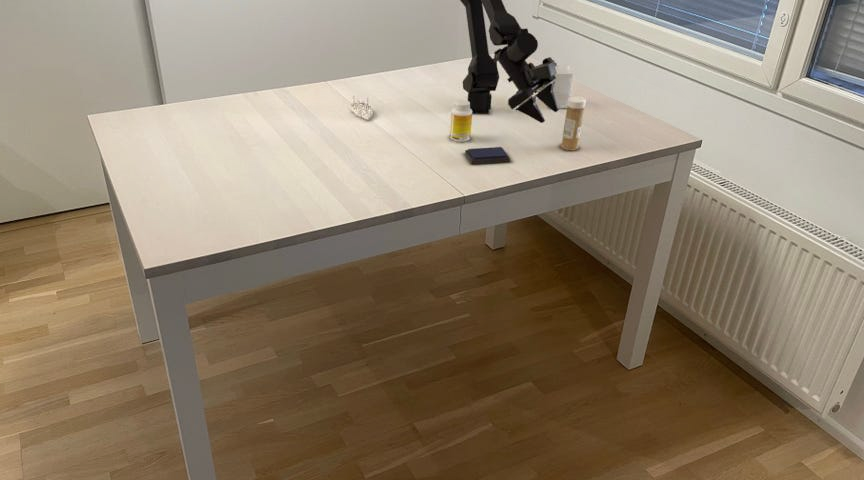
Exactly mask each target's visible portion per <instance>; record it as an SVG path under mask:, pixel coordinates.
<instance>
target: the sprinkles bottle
mask: <svg viewBox="0 0 864 480" xmlns="http://www.w3.org/2000/svg"><path fill="white" fill-rule="evenodd" d="M586 102H587V99H586V98H584V97H582V96H577V95H574V96H570V97H569V98H568V101H567V108H566V112H565V118H564V124H563V130H562V132H563V133H562V139H561V144H560V147H561V148H562V149H563V150H566V151H576V150H578V149H579V143H580V136H581V132H582V131H581V130H582V124H583V116H584V110H585V108H586V104H587V103H586Z"/></svg>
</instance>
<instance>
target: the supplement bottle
mask: <svg viewBox="0 0 864 480" xmlns="http://www.w3.org/2000/svg"><path fill="white" fill-rule="evenodd" d="M450 112H451V113H450V129H449V137H450V139H451V140H452V141H454V142H456V143H457V142H458V143H464V142H468V141H469V140H470V139H471V136H472V135H471V133H472V123H473V113H472V110H471V109H470V102H469V101H468V99H466V100H465V99H457V100H456V101H454V107H453V108H452V109H451V111H450Z"/></svg>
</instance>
